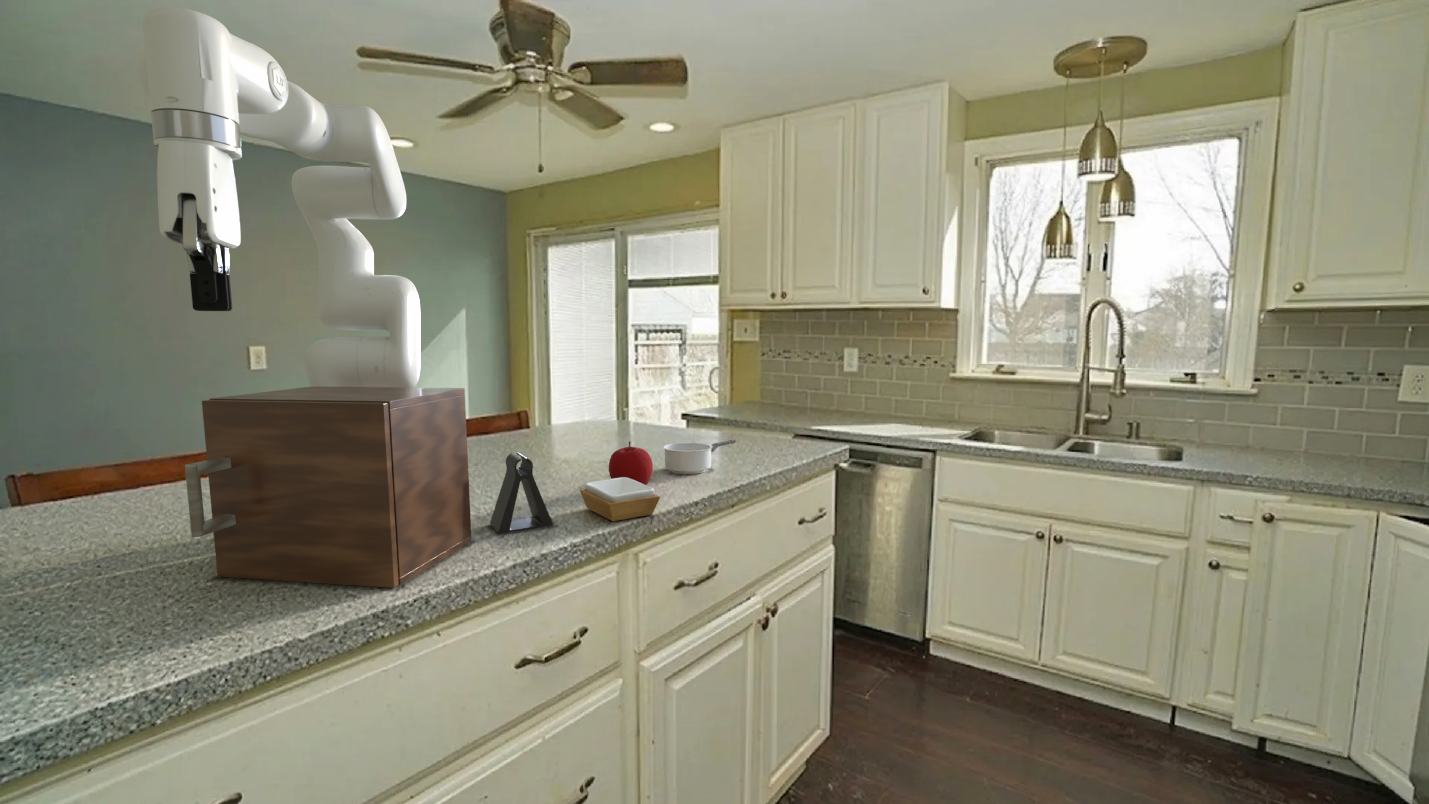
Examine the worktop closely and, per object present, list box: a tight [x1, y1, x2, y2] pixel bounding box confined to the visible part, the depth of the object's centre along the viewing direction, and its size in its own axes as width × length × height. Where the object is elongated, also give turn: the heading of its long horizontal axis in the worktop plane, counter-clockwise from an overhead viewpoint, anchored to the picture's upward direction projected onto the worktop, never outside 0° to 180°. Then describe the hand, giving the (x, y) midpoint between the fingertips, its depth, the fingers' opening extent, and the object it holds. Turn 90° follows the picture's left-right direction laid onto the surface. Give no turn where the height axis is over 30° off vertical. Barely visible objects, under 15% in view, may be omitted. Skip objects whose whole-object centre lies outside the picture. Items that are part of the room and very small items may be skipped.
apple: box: [608, 441, 654, 486], centre depth 138 cm, size 9×9×10 cm
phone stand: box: [489, 452, 554, 535], centre depth 112 cm, size 9×6×12 cm, turn 120°
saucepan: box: [662, 439, 736, 475], centre depth 158 cm, size 12×20×6 cm, turn 130°
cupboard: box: [208, 386, 472, 586], centre depth 96 cm, size 18×26×24 cm
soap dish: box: [579, 477, 661, 523], centre depth 120 cm, size 12×10×5 cm
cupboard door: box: [184, 399, 400, 589], centre depth 84 cm, size 6×26×24 cm, turn 81°
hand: (213, 310), depth 74 cm, fingers closed
